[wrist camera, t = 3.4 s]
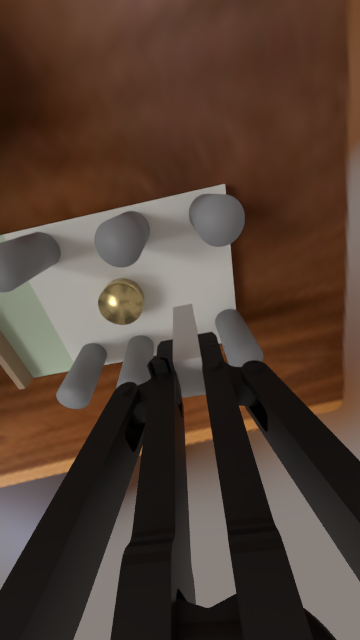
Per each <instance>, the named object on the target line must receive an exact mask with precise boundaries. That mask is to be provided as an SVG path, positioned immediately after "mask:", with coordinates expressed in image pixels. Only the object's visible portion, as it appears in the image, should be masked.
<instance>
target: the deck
mask: <svg viewBox="0 0 360 640" xmlns="http://www.w3.org/2000/svg"><path fill="white" fill-rule="evenodd" d="M244 223H245V213H244V209H243V207H242V205H241V203H240V202H239V201H238V200H237V199H236V198H234V197H232V196H230V195H226V188H225V184H222V185H217V186H213V187H208V188H204V189H200V190H195V191H191V192H187V193H182V194H178V195H173V196H169V197H165V198H160V199H156V200H152V201H147V202H143V203H138V204H134V205H130V206H125V207H121V208H117V209H112V210H108V211H103V212H99V213H95V214H90V215H86V216H82V217H77V218H73V219H68V220H64V221H60V222H55V223H51V224H47V225H42V226H38V227H33V228H29V229H25V230H20V231H16V232H12V233H7V234H3V235H0V365H1V366H2V367H3V369H4V370H5V371H6V373H7V374H8V375H9V377H10V378H11V379H12V380H13V382H14V383H15V384H16V386H17V387H18V388H19V390H20V389H25V388H26V387H27V386H28V384H29V383H30V382H31V380H32V379H33V378H34V377H40V376H45V375H50V374H56V373H61V372H67V371H69V372H68V374H67V375H66V377H65V379H64V381H63V383H62V384H61V386H60V388H59V390H58V391H57V394H56V396H57V399H58V401H59V402H60V403H61V404H62V405H64V406H65V407H68V408H72V409H81V408H84V407H86V406H87V405H88V404H89V403H90V400H91V398H92V395H93V393H94V390H95V387H96V385H97V382H98V379H99V377H100V374H101V371H102V369H103V366H104V365H107V364H112V363H118V362H123V364H122V368H121V372H120V375H119V379H118V383H117V387H118V386H120V385H121V384H123V383H126V382H134V383H136V384H137V386H138V385H140V384H142V383H145V382H147V381H148V380H149V379H151V376H150V373H149V370H148V368H147V364H148V362H149V361H150V360H151V359H153V356H155V355H157V346H158V345H159V343H160V342H161V341H166V340H171V339H173V307H177V306H182V305H187V304H192V306H193V311H194V317H195V322H196V327H197V332H198V334H202V333H207V332H213V333H214V334H215V335H216V336H217V339H218V343H219V344H220V343H222V346H223V348H224V351H225V354H226V357H227V360H228V363H229V365H231V366H235V367H242V365H243V364H244V363H246V362H248V361H252V360H257V361H261V362H262V360H263V352H262V350H261V348H260V347H259V345H258V343H257V341H256V340H255V338H254V336H253V335H252V333H251V331H250V330H249V328H248V326H247V324H246V323H245V321H244V319H243V318H242V316H241V314H240V313H239V312H238V311H237V310H236V304H235V292H234V280H233V269H232V257H231V246H230V244H231V243H232V242H234V241H235V240H236V239H237V238H238V237H239V235H240V234H241V232H242V230H243V227H244ZM118 278H126V279H129V280H132V281H134V282H135V283H137V284H138V285H139V286H140V288H141V289H142V291H143V293H144V304H143V308H142V312H141V315H140V317H139V318H138V319H137V320H136V321H135V322H133V323H131V324H127V325H118V324H114V323H111V322H110V321H108V320H107V319H105V318H104V317H103V316H102V314H101V313H100V311H99V308H98V299H99V296H100V294H101V293H102V291H103V290H104V288H105V287H106V285H107V284H108V283H109V282H111V281H112V280H114V279H118Z"/></svg>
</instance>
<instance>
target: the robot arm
mask: <svg viewBox="0 0 360 640" xmlns="http://www.w3.org/2000/svg"><path fill="white" fill-rule="evenodd" d="M156 356H157V357H155V358H153V359H151V360H150V361H149V362H148V364H147V368H148V370H149V373H150V376H151V379H149V380H148V381H147V382H145V383H142V384H140V385H138V386H137V384H136V383H134V382H126V383H123V384H121V385H120V386H118V387H117V388H116V390H115V391H114V393H113V395H112V396H111V398H110V400H109V401H108V403H107V405H106V407H105V408H104V410H103V412H102V414H101V415H100V417H99V419H98V421H97V422H96V424H95V426H94V428H93V429H92V431H91V433H90V435H89V436H88V438H87V440H86V442H85V443H84V445H83V447H82V449H81V450H80V452H79V454H78V456H77V457H76V459H75V461H74V463H73V464H72V466H71V468H70V469H69V471H68V473H67V475H66V477H65V478H64V480H63V482H62V483H61V485H60V487H59V489H58V490H57V492H56V494H55V496H54V498H53V499H52V501H51V503H50V504H49V506H48V508H47V510H46V512H45V513H44V515H43V517H42V518H41V520H40V522H39V524H38V525H37V527H36V529H35V531H34V532H33V534H32V536H31V538H30V539H29V541H28V543H27V545H26V546H25V548H24V550H23V551H22V553H21V555H20V557H19V558H18V560H17V562H16V564H15V565H14V567H13V569H12V571H11V572H10V574H9V576H8V578H7V579H6V581H5V583H4V585H3V587H2V588H1V590H0V640H73V639H74V636H75V633H76V631H77V628H78V626H79V623H80V620H81V618H82V615H83V612H84V610H85V607H86V603H87V601H88V598H89V595H90V593H91V590H92V586H93V584H94V581H95V578H96V576H97V573H98V569H99V567H100V564H101V561H102V558H103V556H104V553H105V550H106V547H107V544H108V541H109V539H110V536H111V533H112V530H113V527H114V524H115V522H116V518H117V516H118V513H119V510H120V507H121V504H122V502H123V499H124V496H125V493H126V490H127V487H128V485H129V482H130V479H131V476H132V473H133V471H134V468H135V465H136V462H137V459H138V456H139V454H140V451H141V448H142V455H141V463H140V473H139V481H138V488H137V497H136V505H135V513H134V522H133V530H132V537H131V540H130V543H129V544H128V545H127V547H126V548H125V551H124V554H123V557H122V563H121V569H120V575H119V583H118V590H117V597H116V605H115V611H114V618H113V626H112V632H111V640H336V639H335V637H334V636H333V635H332V634H331V633H330V632H329V630H328V629H327V628H326V627H325V626H324V625H323V624H322V623H321V622H320V621H319V620H318V619H317V618H316V617H314V616H313V615H312V614H311V613H310V612H308V611H307V610H306V609H304V608H303V605H302V602H301V599H300V596H299V593H298V589H297V586H296V583H295V580H294V576H293V573H292V570H291V567H290V564H289V561H288V557H287V554H286V551H285V547H284V544H283V542H282V539H281V536H280V534H279V531H278V529H277V528H276V526H275V523H274V521H273V518H272V514H271V511H270V508H269V505H268V501H267V498H266V494H265V491H264V488H263V484H262V481H261V478H260V475H259V471H258V468H257V465H256V462H255V458H254V455H253V452H252V448H251V445H250V441H249V438H248V435H247V431H246V428H245V425H244V422H243V418H242V415H241V412H240V408H239V405H242V406H245V407H246V409H247V411H248V412H249V414H250V415H251V417H252V418H253V420H254V421H255V423H256V424H257V426H258V427H259V429H260V430H261V432H262V434H263V435H264V437H265V438H266V440H267V441H268V443H269V444H270V446H271V447H272V449H273V450H274V452H275V453H276V455H277V456H278V458H279V459H280V461H281V462H282V464H283V465H284V467H285V468H286V470H287V472H288V473H289V475H290V476H291V478H292V479H293V480H294V482H295V484H296V485H297V487H298V488H299V490H300V491H301V493H302V494H303V496H304V497H305V499H306V500H307V502H308V503H309V505H310V506H311V508H312V510H313V511H314V512H315V514H316V515H317V517H318V518H319V520H320V522H321V523H322V525H323V526H324V527H325V529H326V531H327V532H328V534H329V535H330V537H331V538H332V540H333V541H334V543H335V544H336V546H337V548H338V549H339V550H340V552H341V554H342V555H343V557H344V558H345V560H346V561H347V563H348V564H349V566H350V567H351V569H352V570H353V572H354V573H355V575H356V576H357V578H358V580H359V581H360V461H359V460H358V459H357V458H356V457H355V456H354V455H353V454H352V453H351V451H349V449H348V448H347V447H345V445H344V444H343V443H342V442H341V441H340V440H339V439H338V438H337V437H336V436H335V435H334V434H333V433H332V432H331V431H330V430H329V429H328V428H327V427H326V426H325V425H324V424H323V423H322V422H321V421H320V419H318V417H317V416H316V415H315V414H314V413H313V412H312V411H311V410H310V409H309V408H308V407H307V406H306V405H305V404H304V403H303V402H302V401H301V400H300V399H299V398H298V397H297V396H296V395H295V394H294V393H293V392H292V391H291V390H290V389H289V387H288V386H287V385H286V384H285V383H284V382H283V381H282V380H281V379H280V378H279V377H278V376H277V375H276V374H275V373H274V372H273V371H272V370H271V369H270V368H269V367H268V366H267V365H266V364H265V363H263V362H261V361H257V360H252V361H248V362H246V363H244V364H243V365H242V367H235V366H231V365H229V364H227V363H226V362H225V361H224V359H223V356H222V353H221V349H220V346H219V343H218V339H217V336H216V335H215V334H214V333H213V332H207V333H202V334H198V332H197V327H196V322H195V317H194V311H193V306H192V304H187V305H182V306H177V307H173V339H171V340H166V341H161V342H160V343H159V345H158V346H157V355H156ZM181 394H182V396H181ZM203 394H206V397H207V404H208V410H209V416H210V423H211V429H212V436H213V442H214V447H215V455H216V461H217V467H218V473H219V480H220V487H221V492H222V499H223V505H224V512H225V518H226V525H227V532H228V541H229V548H230V555H231V561H232V568H233V574H234V580H235V587H236V593H237V594H235V595H233V596H231V597H229V598H227V599H226V600H224V601H222V602H220V603H218V604H216V605H215V606H213V607H210V608H204V607H202V606H199V605H196V600H195V588H194V579H193V573H192V567H191V552H190V531H189V511H188V491H187V470H186V450H185V429H184V409H183V402H182V397H183V398H184V397H191V396H197V395H203ZM142 445H143V447H142Z"/></svg>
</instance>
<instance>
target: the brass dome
mask: <svg viewBox="0 0 360 640" xmlns="http://www.w3.org/2000/svg"><path fill="white" fill-rule="evenodd" d="M143 304H144V293H143V291H142V289H141V288H140V286H139V285H138V284H137V283H135V282H134V281H132V280H129V279H126V278H118V279H114V280H112V281H111V282H109V283H108V284H107V285H106V287H105V288H104V290H103V291H102V293H101V294H100V296H99V299H98V308H99V311H100V313H101V314H102V316H103V317H104V318H105V319H107V320H108V321H110V322H111V323H114V324H118V325H127V324H131V323H133V322H135V321H136V320H137V319H138V318H139V317H140V315H141V312H142V308H143Z"/></svg>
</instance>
